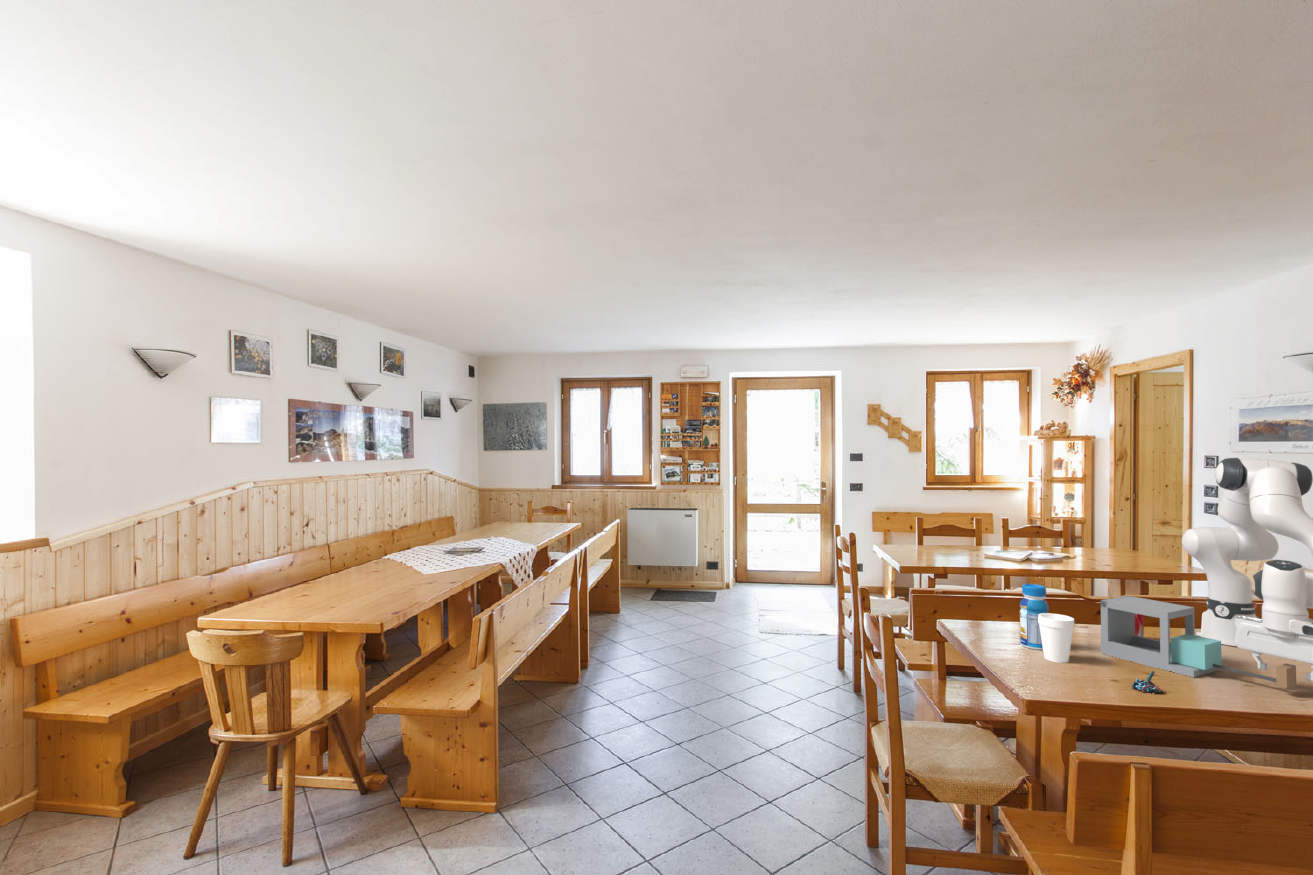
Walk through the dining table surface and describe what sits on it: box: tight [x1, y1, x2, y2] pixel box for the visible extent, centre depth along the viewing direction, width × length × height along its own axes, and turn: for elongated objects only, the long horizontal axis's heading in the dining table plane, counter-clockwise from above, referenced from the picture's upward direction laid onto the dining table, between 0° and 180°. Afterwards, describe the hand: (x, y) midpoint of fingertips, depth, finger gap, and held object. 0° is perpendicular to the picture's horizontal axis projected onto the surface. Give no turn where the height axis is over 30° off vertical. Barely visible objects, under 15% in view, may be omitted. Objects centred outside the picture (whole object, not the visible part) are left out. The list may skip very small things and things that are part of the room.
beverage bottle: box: [1019, 583, 1049, 651], centre depth 205 cm, size 8×8×20 cm
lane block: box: [1170, 634, 1297, 689], centre depth 175 cm, size 10×24×7 cm, turn 27°
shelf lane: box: [1100, 595, 1221, 678], centre depth 191 cm, size 16×24×17 cm, turn 27°
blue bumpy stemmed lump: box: [1131, 670, 1167, 695], centre depth 166 cm, size 8×7×8 cm
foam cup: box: [1038, 612, 1075, 664], centre depth 192 cm, size 10×9×13 cm
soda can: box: [1135, 613, 1145, 637], centre depth 213 cm, size 7×7×12 cm
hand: (1286, 674), depth 165 cm, fingers open, 8 cm apart
